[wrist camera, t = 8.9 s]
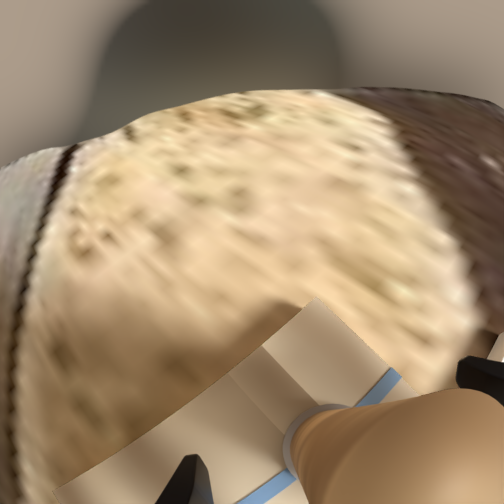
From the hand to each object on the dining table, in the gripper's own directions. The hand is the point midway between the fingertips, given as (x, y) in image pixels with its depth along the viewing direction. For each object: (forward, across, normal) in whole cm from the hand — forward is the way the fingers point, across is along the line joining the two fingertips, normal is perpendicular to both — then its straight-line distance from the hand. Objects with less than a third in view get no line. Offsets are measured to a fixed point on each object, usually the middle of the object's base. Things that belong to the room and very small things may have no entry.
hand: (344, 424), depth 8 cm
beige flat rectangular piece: (+3, +4, +8) cm, 10 cm away
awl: (+5, 0, +6) cm, 8 cm away
